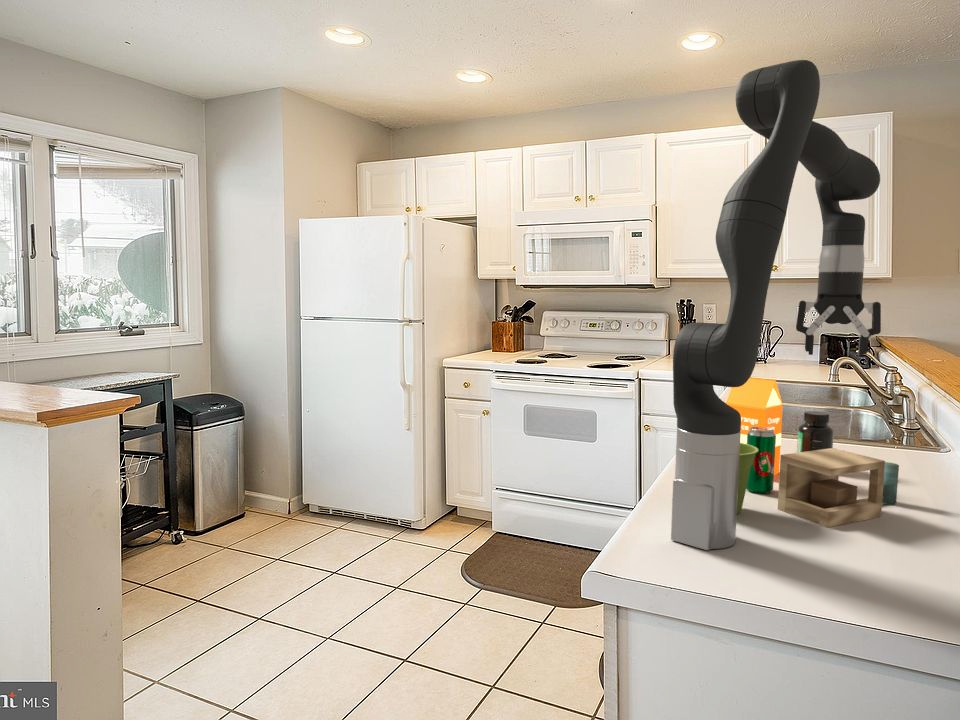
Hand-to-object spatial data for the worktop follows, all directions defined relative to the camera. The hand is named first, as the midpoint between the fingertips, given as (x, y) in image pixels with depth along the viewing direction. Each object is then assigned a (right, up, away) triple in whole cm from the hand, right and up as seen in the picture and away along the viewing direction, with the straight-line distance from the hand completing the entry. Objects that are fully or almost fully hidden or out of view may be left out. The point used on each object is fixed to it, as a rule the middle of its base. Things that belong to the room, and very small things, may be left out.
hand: (835, 355), depth 132 cm
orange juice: (-11, -25, +13) cm, 30 cm away
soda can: (-15, -26, 0) cm, 30 cm away
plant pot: (-26, -27, -12) cm, 40 cm away
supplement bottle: (+4, -24, +16) cm, 30 cm away
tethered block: (-1, -27, -10) cm, 29 cm away
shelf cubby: (-8, -27, -13) cm, 31 cm away
